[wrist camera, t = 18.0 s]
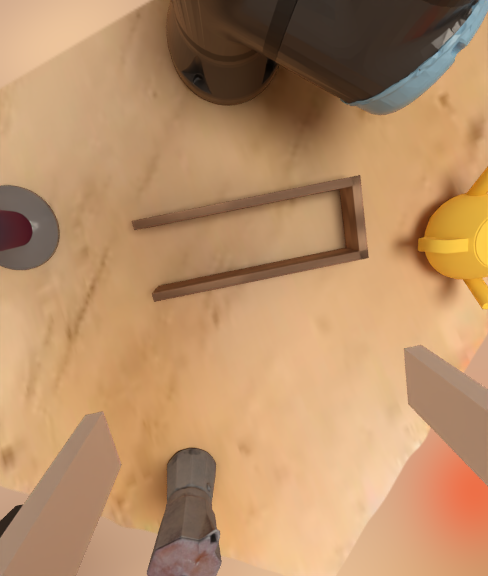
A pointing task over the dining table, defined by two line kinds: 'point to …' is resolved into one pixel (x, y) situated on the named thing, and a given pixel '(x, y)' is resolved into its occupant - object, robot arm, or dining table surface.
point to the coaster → (42, 228)
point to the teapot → (461, 239)
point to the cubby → (352, 252)
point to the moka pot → (188, 519)
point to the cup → (14, 230)
